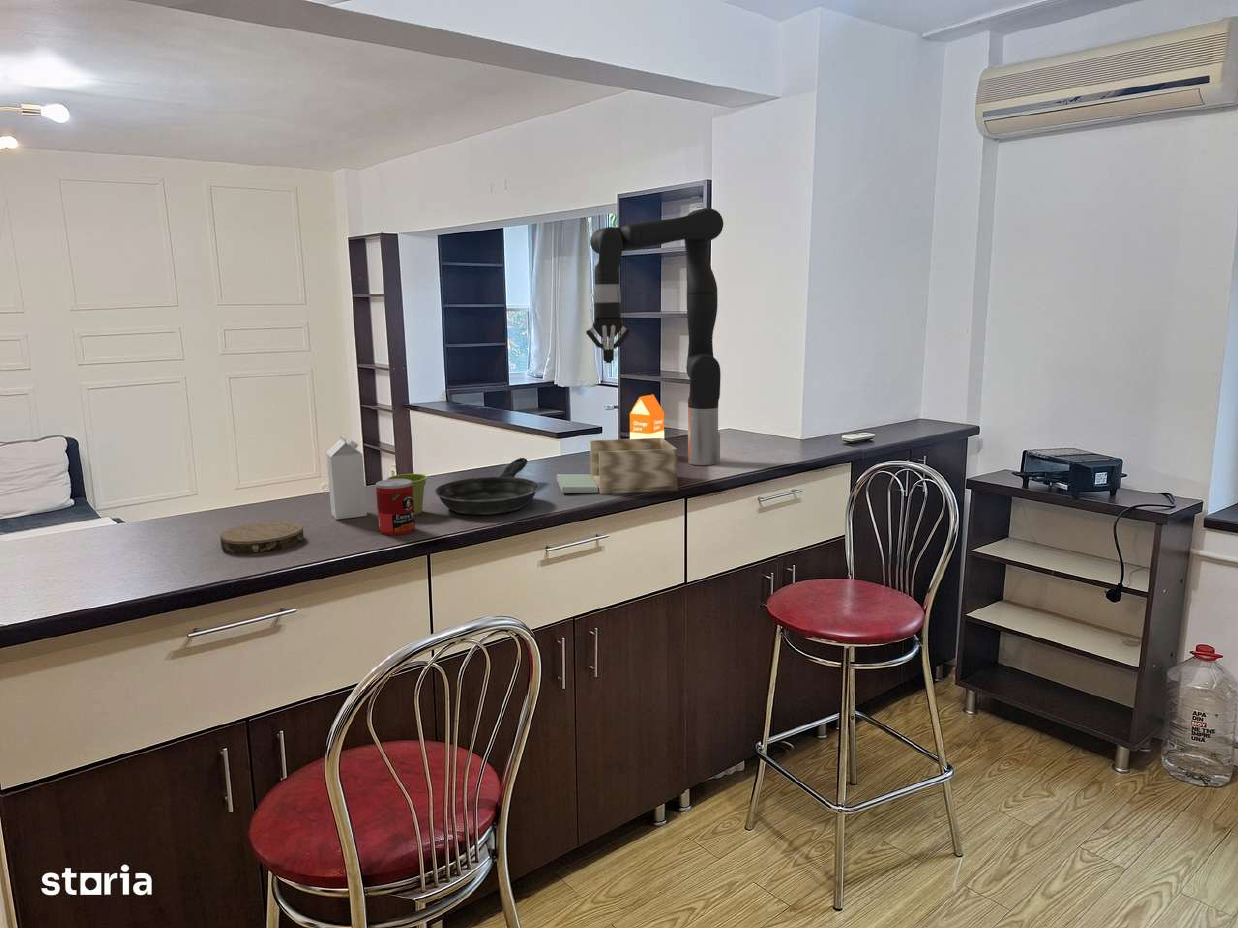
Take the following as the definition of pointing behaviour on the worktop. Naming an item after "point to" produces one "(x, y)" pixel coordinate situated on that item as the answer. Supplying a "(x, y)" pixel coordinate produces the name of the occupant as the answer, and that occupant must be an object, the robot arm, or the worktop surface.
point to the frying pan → (489, 492)
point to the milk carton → (346, 480)
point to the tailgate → (577, 483)
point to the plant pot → (415, 488)
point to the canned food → (395, 506)
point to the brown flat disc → (261, 537)
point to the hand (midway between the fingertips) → (608, 362)
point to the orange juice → (647, 419)
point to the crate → (633, 465)
